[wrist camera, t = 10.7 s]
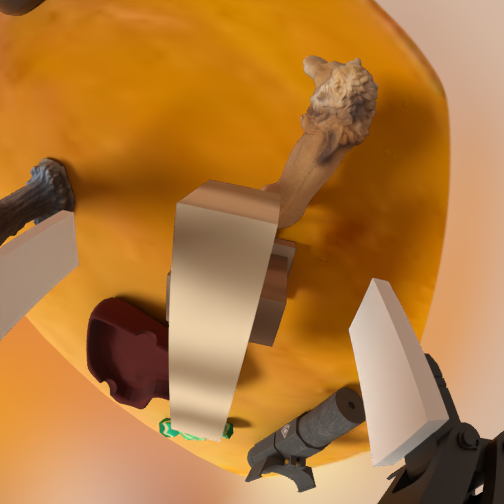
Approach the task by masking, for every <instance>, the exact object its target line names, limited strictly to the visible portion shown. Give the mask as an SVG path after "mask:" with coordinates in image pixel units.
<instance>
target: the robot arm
mask: <svg viewBox="0 0 504 504" xmlns="http://www.w3.org/2000/svg"><path fill="white" fill-rule="evenodd" d="M42 1H43V0H0V11H1V12H2V13H4V14H6V15H13V16H20V15H23V14H25V13H27V12H29V11H31V10H32V9H33V8H35V7H36V6H37V5H38V4H40V3H41V2H42ZM78 265H79V261H78V253H77V244H76V233H75V221H74V212H69V211H64V210H62V211H60V212H58V213H57V214H55V215H53V216H51V217H49V218H48V219H46V220H44V221H42V222H41V223H39V224H37V225H36V226H34V227H32V228H31V229H29V230H27V231H26V232H24V233H22V234H21V235H19V236H18V237H16V238H14V239H13V240H11V241H10V242H8V243H7V244H5V245H4V246H2V247H1V248H0V341H1V339H2V338H3V337H4V336H5V335H6V334H7V333H8V332H9V331H10V330H11V329H12V327H14V326H15V325H16V323H17V322H18V321H19V320H20V319H21V318H22V317H23V316H24V315H25V314H26V313H27V312H28V311H29V310H30V309H31V308H32V307H33V306H34V305H35V304H37V303H38V302H39V301H40V300H41V299H42V298H43V297H44V296H45V295H46V294H47V293H48V292H49V291H50V290H51V289H52V288H54V287H55V286H56V285H57V284H58V283H59V282H60V281H61V280H62V279H63V278H65V277H66V276H67V275H68V274H69V273H70V272H71V271H73V270H74V269H75V268H76V267H77V266H78ZM349 333H350V337H351V342H352V346H353V351H354V356H355V360H356V365H357V370H358V375H359V380H360V386H361V391H362V397H363V402H364V408H365V414H366V421H367V427H368V434H369V441H370V449H371V456H372V465H373V467H374V466H387V465H393V464H395V463H396V462H398V461H399V460H401V459H402V458H403V457H405V463H406V465H404V466H403V467H401V468H400V469H398V470H397V471H395V472H394V473H392V474H391V475H390V476H389V477H388V478H387V479H388V480H390V479H392V478H393V477H395V476H396V477H395V479H394V480H393V482H392V483H391V485H390V486H389V488H388V489H387V491H386V492H385V494H384V495H383V497H382V498H381V499H380V501H379V502H378V504H504V431H503V432H501V433H500V434H499V435H498V436H497V437H495V438H494V439H493V440H489V439H484V438H480V436H479V434H478V432H477V430H476V429H475V428H474V427H473V426H471V425H470V424H468V423H465V422H464V423H461V421H460V419H459V416H458V414H457V411H456V408H455V406H454V403H453V400H452V398H451V395H450V393H449V390H448V388H446V383H445V380H444V378H442V373H441V371H440V369H439V366H438V364H437V363H436V362H435V361H434V359H433V358H432V357H431V356H430V355H429V354H425V353H424V352H423V350H422V348H421V346H420V343H419V341H418V339H417V337H416V335H415V333H414V331H413V328H412V326H411V324H410V322H409V320H408V318H407V316H406V314H405V312H404V310H403V308H402V306H401V304H400V302H399V300H398V298H397V296H396V294H395V292H394V291H393V289H392V287H391V285H390V283H389V281H385V280H381V279H376V278H372V280H371V283H370V285H369V287H368V290H367V292H366V294H365V296H364V298H363V301H362V303H361V305H360V307H359V309H358V311H357V313H356V315H355V318H354V320H353V322H352V324H351V326H350V328H349ZM483 484H484V486H483V492H481V493H480V494H478V495H475V489H476V488H478V487H479V486H481V485H483Z"/></svg>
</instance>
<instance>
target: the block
mask: <svg viewBox="0 0 504 504" xmlns="http://www.w3.org/2000/svg"><path fill="white" fill-rule="evenodd" d="M280 202H281V195H280V194H276V193H271V192H267V191H262V190H258V189H253V188H249V187H244V186H239V185H234V184H229V183H224V182H219V181H214V180H209V181H207V182H206V183H204V184H203V185H201V186H200V187H198V188H197V189H196V190H194V191H193V192H191V193H190V194H188V195H187V196H186V197H184V198H183V199H181V200H180V201H179V202H177V206H176V216H175V226H174V238H173V250H172V265H171V282H170V306H169V393H170V415H171V429H173V430H177V431H180V432H183V433H187V434H190V435H194V436H197V437H201V438H205V439H209V440H213V441H217V442H221V438H222V435H223V431H224V428H225V424H226V421H227V417H228V414H229V410H230V406H231V403H232V399H233V396H234V392H235V388H236V385H237V381H238V378H239V374H240V370H241V367H242V363H243V359H244V355H245V352H246V348H247V344H248V341H249V337H250V333H251V329H252V325H253V322H254V318H255V314H256V310H257V306H258V302H259V299H260V295H261V291H262V287H263V283H264V279H265V275H266V271H267V267H268V263H269V259H270V255H271V251H272V247H273V243H274V239H275V235H276V231H277V227H278V220H279V211H280Z"/></svg>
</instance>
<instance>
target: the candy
mask: <svg viewBox="0 0 504 504" xmlns="http://www.w3.org/2000/svg"><path fill="white" fill-rule="evenodd" d="M159 427H160V433H161V434H162V435H164V436H165V437H175V436H177V435H178V434H179V433H180V435H182V436H183V437H184V438H185V439H186V440H206V439H205V438H201V437H197V436H194V435H190V434H187V433H183V432H180V431H177V430H173V429H171V420H169V419H166V418H165V419H164V420H162V421H161V422H160V423H159ZM232 434H233V424H229V423H226V424H225V428H224V431H223V435H222V437H224V438H228V439H229V438H230V437H231V436H232Z"/></svg>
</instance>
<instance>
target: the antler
mask: <svg viewBox="0 0 504 504" xmlns="http://www.w3.org/2000/svg"><path fill="white" fill-rule="evenodd" d="M30 173H31V174H32V177H31V179H30V180H29V181H28V182H27V183H26V186H25V187H22V188H20V189H19V190H17V191H15V192H14V193H11V194H10V195H8V196H6V197H4V198H3V199H1V200H0V246H1V245H2V244H3V243H4V241H5V240H6V239H7V238H8V237H9V236H15V235H16V234H17V232H18V231H19V230H21V229H22V228H23V227H24V226H25V224H26V223H28V222H30V221H32V220H34V223H35V224H36V225H37V224H39V223H41V222H42V221H44V220H46V219H48V218H49V217H51V216H53V215H55V214H57V213H58V212H60V211H62V210H64V211H69V212H72V211H73V209H74V204H75V199H74V195H73V192H72V191H71V184H70V182H69V181H68V178H67V176H66V171H65V168H64V166H61V165H60V164H59V163H58V162H55V161H52V160H49V159H44V158H43V159H42V160H41V162H40V163H39V164H38V165H37V166H34V167H33V168H32V169H31V172H30Z"/></svg>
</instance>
